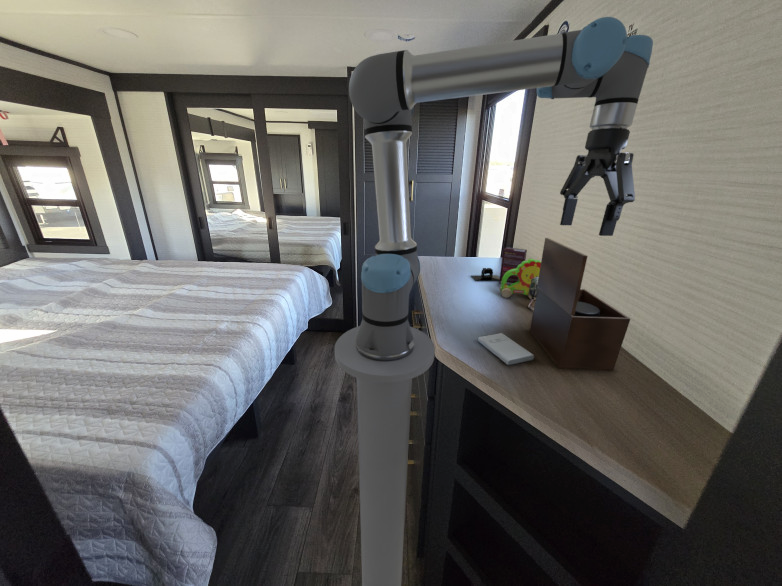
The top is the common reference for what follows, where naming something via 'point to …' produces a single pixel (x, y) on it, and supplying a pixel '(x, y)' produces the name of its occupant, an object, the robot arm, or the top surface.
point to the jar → (586, 310)
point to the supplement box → (511, 263)
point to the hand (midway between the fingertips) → (583, 230)
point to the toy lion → (521, 278)
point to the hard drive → (506, 349)
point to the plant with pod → (533, 291)
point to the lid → (561, 274)
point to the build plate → (486, 276)
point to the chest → (579, 333)
